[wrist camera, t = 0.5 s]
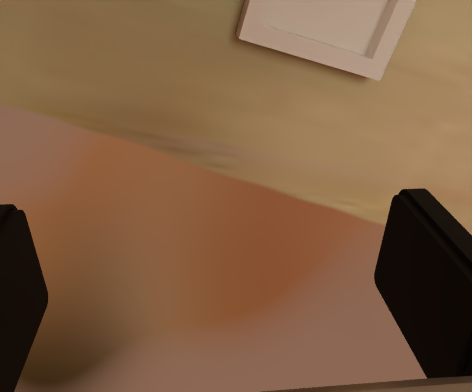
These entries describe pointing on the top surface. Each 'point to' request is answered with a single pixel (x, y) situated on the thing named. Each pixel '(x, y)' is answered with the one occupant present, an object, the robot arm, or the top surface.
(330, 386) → the robot arm
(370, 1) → the ceramic tray
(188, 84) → the top surface
